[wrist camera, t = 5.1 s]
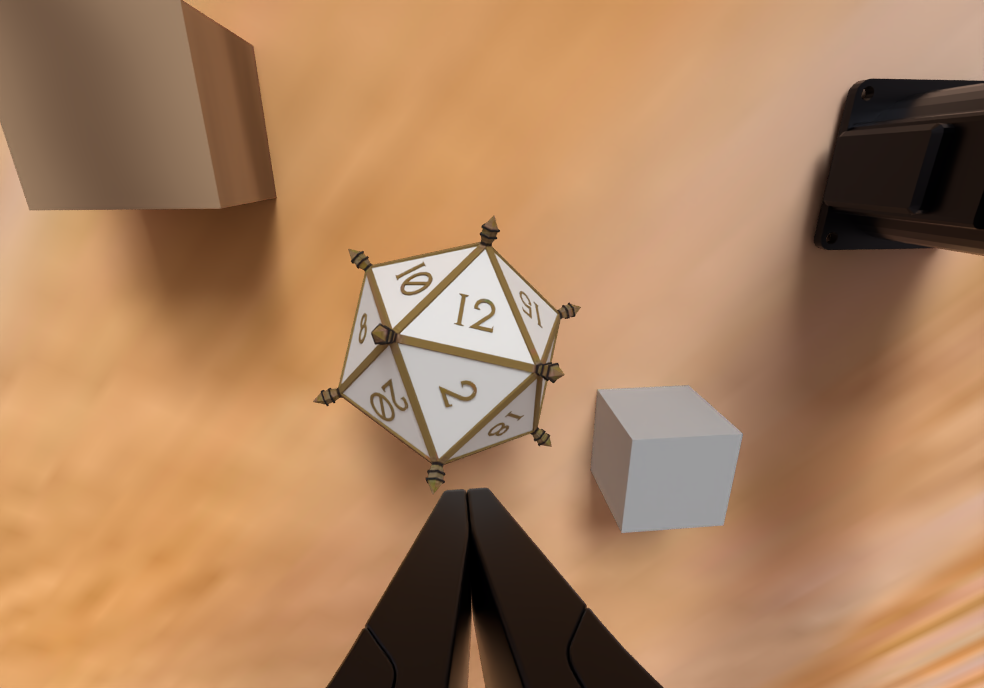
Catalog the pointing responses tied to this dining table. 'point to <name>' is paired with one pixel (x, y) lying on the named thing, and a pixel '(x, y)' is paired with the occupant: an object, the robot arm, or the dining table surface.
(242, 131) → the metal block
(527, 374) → the game die
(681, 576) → the dining table surface
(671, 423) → the slate block
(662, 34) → the dining table surface
